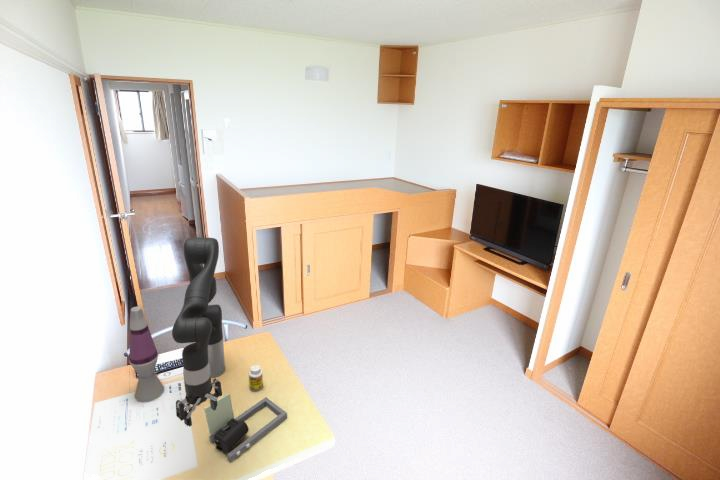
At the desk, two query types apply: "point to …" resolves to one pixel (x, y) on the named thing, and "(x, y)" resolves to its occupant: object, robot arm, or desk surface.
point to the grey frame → (259, 434)
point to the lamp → (143, 357)
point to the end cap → (230, 435)
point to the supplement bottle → (255, 378)
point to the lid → (219, 415)
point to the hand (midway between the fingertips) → (201, 416)
